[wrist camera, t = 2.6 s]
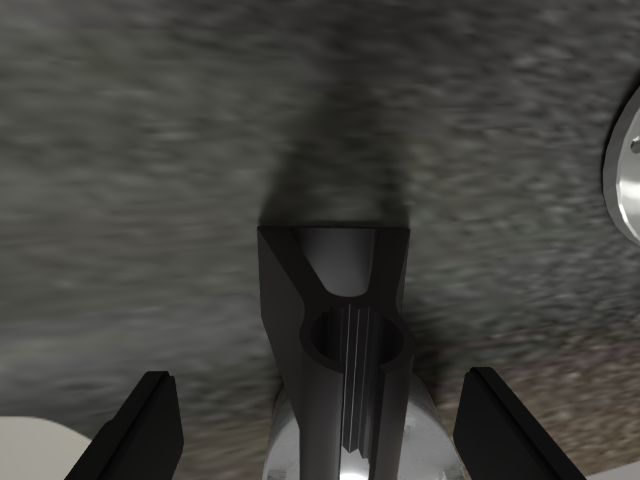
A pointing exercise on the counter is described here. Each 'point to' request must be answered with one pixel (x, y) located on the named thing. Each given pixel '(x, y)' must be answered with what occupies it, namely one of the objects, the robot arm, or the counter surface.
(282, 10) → the counter surface
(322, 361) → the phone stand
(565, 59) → the counter surface
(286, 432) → the grey short round piece
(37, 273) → the counter surface
